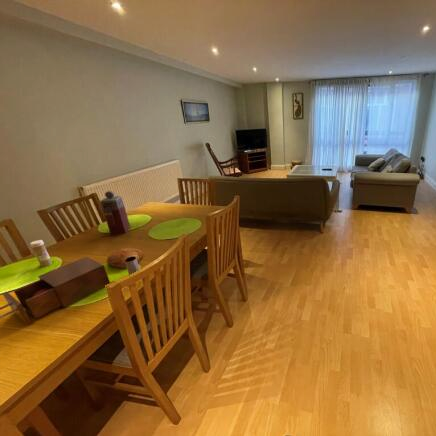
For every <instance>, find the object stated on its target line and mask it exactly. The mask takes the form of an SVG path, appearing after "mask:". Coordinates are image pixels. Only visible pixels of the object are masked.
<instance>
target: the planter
mask: <svg viewBox="0 0 436 436" xmlns="http://www.w3.org/2000/svg"><path fill="white" fill-rule="evenodd" d="M125 264H126V270H127V273H128V276H129V275H130V274H132V273H134V272H136V271H138V270H140V271H141V269H140V266H139V262H137V259H136V257H129V258H126V259H125Z"/></svg>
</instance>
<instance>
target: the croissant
mask: <svg viewBox="0 0 436 436" xmlns="http://www.w3.org/2000/svg"><path fill="white" fill-rule="evenodd" d="M129 257H136V259H137V262H138V263H139V262H140V260H141V259H142V257H143V252H142V251H141V250H140V249H138V248H135V247H134V248H133V247H130V248H129V247H126V248H119V249H117V250H115V251H113V252H112V253H110V254H109V256H107V259H106V263H107V265H109V266H112V267H116V268H119V269H127V267H126V264H125V259H126V258H129Z"/></svg>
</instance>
